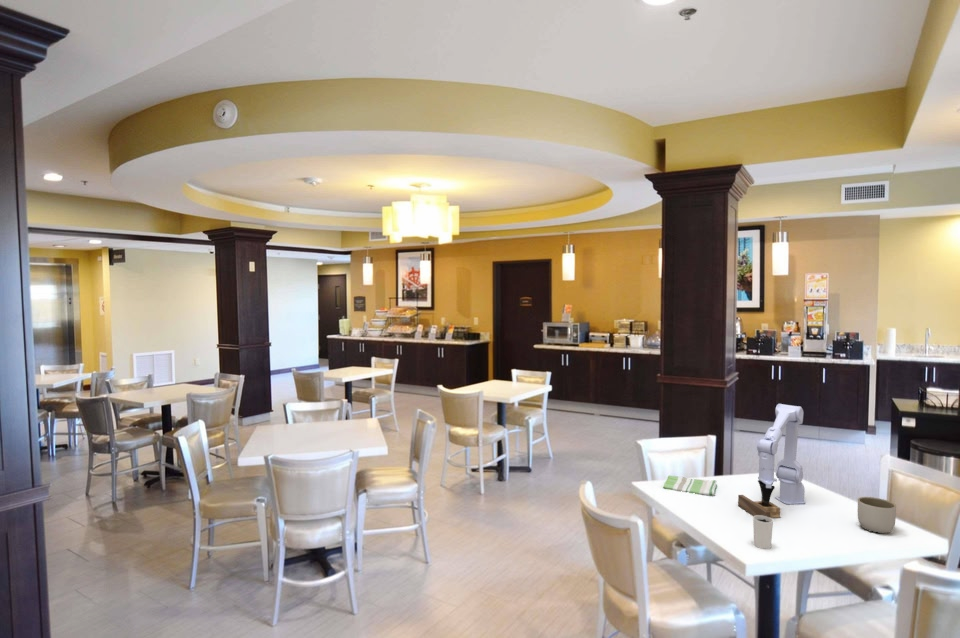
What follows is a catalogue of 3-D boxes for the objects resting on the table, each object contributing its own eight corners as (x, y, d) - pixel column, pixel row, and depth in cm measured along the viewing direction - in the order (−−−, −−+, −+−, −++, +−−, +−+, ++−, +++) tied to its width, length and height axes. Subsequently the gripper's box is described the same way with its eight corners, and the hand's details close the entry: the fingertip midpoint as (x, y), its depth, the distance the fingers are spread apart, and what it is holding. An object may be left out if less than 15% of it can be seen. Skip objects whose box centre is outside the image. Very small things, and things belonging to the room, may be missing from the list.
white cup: (750, 540, 212) (751, 514, 211) (770, 542, 210) (771, 516, 210) (754, 547, 206) (754, 521, 205) (774, 550, 204) (775, 523, 203)
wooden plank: (742, 505, 247) (742, 494, 247) (770, 524, 227) (770, 512, 227) (738, 506, 247) (738, 494, 247) (765, 524, 227) (765, 512, 227)
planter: (875, 536, 216) (876, 509, 215) (849, 524, 228) (850, 497, 228) (903, 535, 218) (904, 507, 217) (876, 522, 230) (877, 496, 230)
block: (768, 510, 242) (768, 500, 242) (780, 517, 234) (780, 507, 234) (750, 510, 241) (751, 501, 241) (761, 517, 233) (762, 508, 233)
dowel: (763, 503, 239) (764, 485, 239) (770, 505, 237) (771, 487, 236) (759, 504, 238) (760, 486, 237) (766, 507, 235) (767, 488, 235)
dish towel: (714, 498, 258) (714, 490, 258) (662, 489, 269) (662, 482, 268) (717, 486, 273) (717, 479, 273) (668, 479, 284) (668, 472, 284)
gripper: (780, 474, 228) (779, 506, 229) (774, 464, 242) (773, 495, 243) (760, 472, 231) (760, 504, 231) (756, 462, 244) (755, 493, 245)
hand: (765, 499), depth 237 cm, fingers closed on dowel, 3 cm apart
